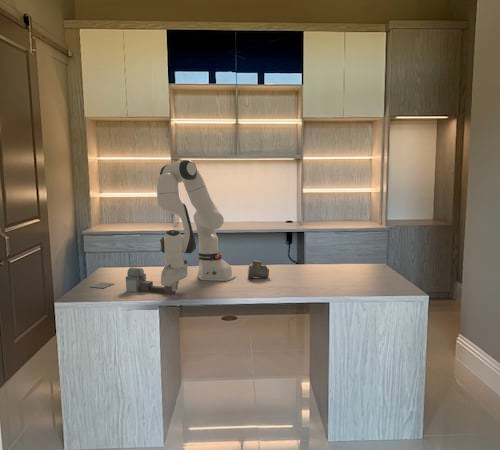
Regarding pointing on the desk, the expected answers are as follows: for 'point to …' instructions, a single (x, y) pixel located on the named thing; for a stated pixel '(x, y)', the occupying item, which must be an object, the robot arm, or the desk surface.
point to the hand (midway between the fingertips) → (174, 290)
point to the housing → (134, 279)
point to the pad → (102, 285)
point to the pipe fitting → (258, 270)
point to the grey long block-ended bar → (155, 288)
